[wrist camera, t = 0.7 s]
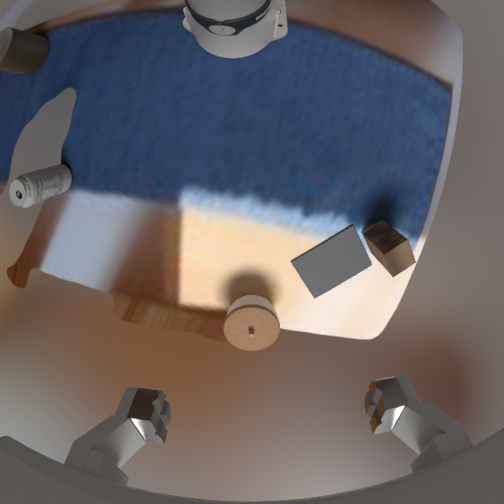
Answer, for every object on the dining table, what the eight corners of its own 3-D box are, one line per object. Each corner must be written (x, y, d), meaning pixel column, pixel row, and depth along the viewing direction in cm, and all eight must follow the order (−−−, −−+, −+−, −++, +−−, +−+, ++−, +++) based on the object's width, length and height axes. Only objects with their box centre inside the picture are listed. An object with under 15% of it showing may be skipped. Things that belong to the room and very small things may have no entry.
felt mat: (352, 224, 51) (353, 225, 51) (371, 264, 54) (371, 264, 54) (290, 261, 54) (291, 262, 54) (314, 297, 57) (314, 298, 57)
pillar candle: (48, 64, 37) (4, 55, 23) (21, 80, 37) (-22, 77, 23) (51, 31, 33) (11, 16, 19) (24, 48, 33) (-16, 40, 20)
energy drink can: (59, 158, 46) (12, 170, 32) (77, 172, 47) (30, 186, 33) (50, 182, 48) (5, 199, 34) (68, 196, 49) (23, 216, 35)
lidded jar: (216, 299, 58) (211, 327, 49) (261, 277, 56) (262, 303, 47) (243, 334, 61) (241, 363, 53) (285, 314, 59) (290, 343, 51)
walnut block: (381, 219, 51) (407, 239, 41) (390, 240, 52) (415, 262, 42) (361, 232, 52) (384, 254, 42) (370, 252, 53) (393, 277, 43)
